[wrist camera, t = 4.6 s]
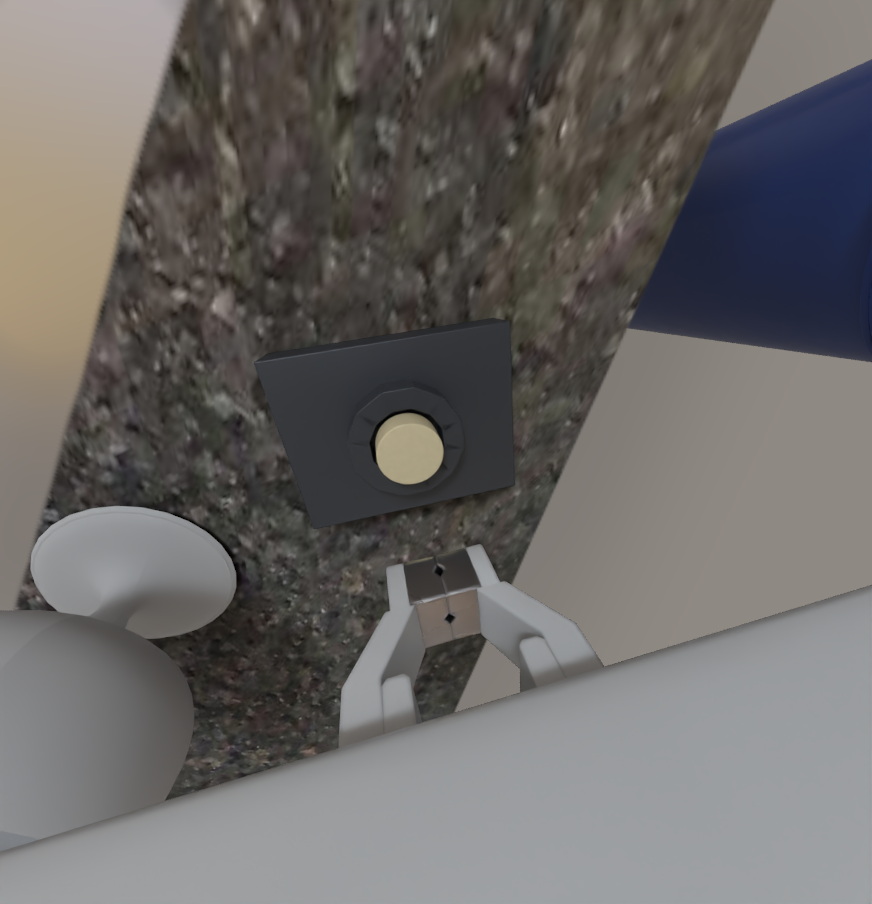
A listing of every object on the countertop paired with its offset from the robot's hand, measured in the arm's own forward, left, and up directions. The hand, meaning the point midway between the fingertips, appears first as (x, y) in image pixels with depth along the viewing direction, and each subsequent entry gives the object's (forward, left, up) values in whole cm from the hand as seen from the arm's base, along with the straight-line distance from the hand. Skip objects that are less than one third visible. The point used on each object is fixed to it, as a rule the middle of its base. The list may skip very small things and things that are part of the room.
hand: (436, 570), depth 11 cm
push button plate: (0, 0, -14) cm, 14 cm away
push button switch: (0, 0, -10) cm, 10 cm away
